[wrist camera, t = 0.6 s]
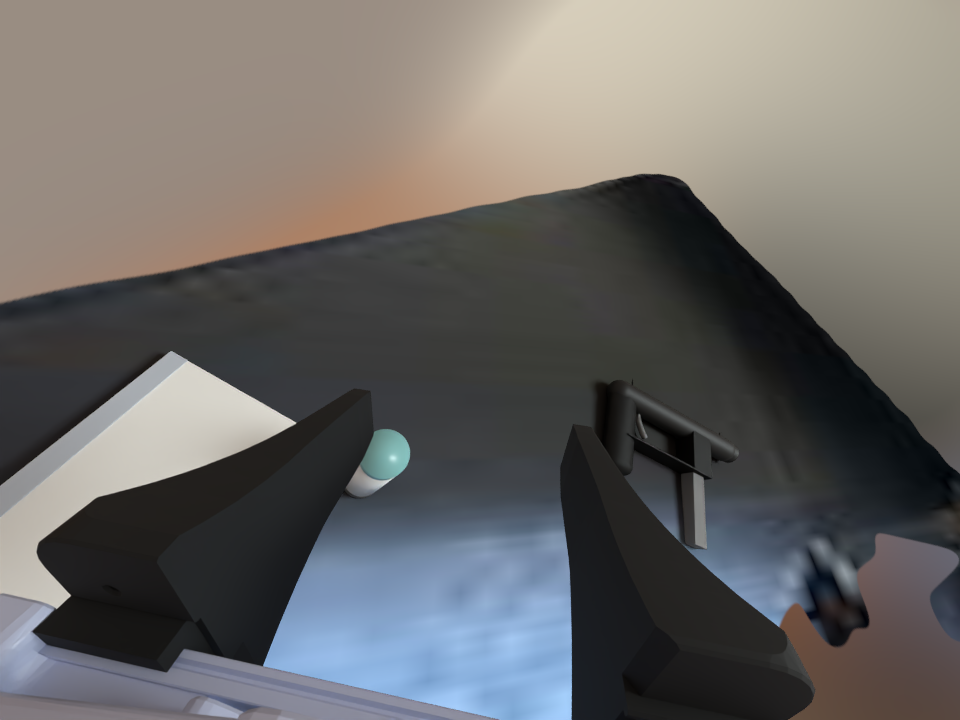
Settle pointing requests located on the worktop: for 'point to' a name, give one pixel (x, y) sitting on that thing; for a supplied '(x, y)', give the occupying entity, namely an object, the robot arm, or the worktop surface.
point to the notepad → (123, 459)
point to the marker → (379, 463)
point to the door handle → (690, 451)
